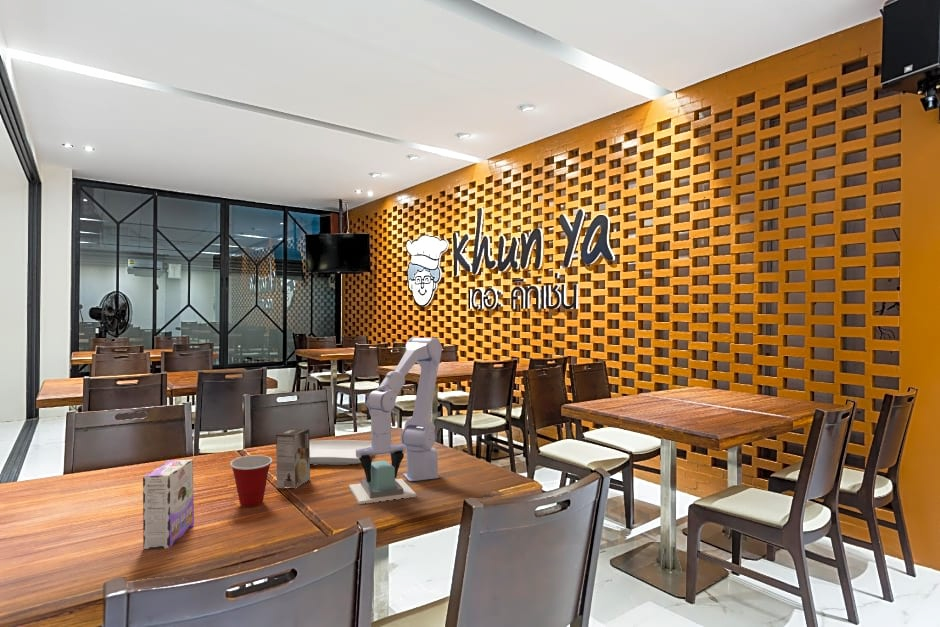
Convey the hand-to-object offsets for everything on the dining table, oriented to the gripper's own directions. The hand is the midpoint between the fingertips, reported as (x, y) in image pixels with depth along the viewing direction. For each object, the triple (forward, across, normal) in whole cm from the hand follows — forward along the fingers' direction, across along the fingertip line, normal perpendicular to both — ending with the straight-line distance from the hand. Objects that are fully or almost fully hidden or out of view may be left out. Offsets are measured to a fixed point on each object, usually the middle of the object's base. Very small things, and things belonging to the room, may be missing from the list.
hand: (381, 479), depth 163 cm
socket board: (+4, 0, 0) cm, 4 cm away
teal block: (+3, 0, 0) cm, 3 cm away
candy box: (+4, +54, +8) cm, 55 cm away
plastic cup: (+4, +34, -7) cm, 35 cm away
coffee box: (+4, +21, -20) cm, 29 cm away
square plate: (+4, +2, -46) cm, 47 cm away
